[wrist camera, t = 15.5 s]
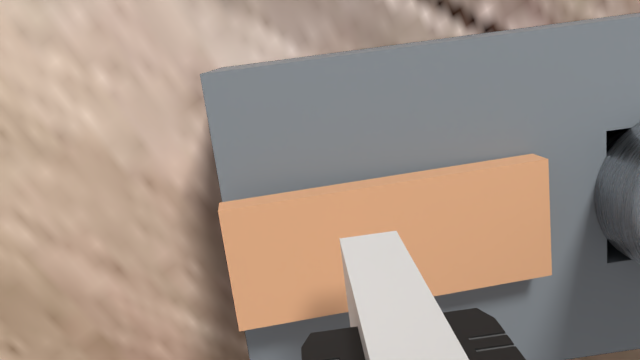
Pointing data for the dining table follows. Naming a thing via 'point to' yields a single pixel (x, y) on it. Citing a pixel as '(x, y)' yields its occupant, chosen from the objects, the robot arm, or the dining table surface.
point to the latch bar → (384, 216)
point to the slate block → (453, 156)
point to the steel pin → (620, 191)
